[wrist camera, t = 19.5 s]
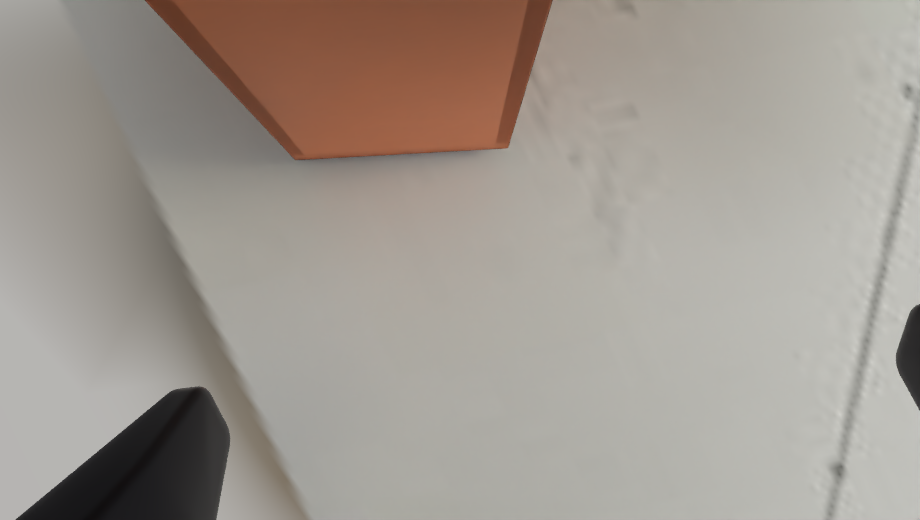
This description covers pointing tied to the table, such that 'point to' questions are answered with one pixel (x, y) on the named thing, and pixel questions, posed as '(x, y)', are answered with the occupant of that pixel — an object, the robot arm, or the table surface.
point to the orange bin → (369, 69)
